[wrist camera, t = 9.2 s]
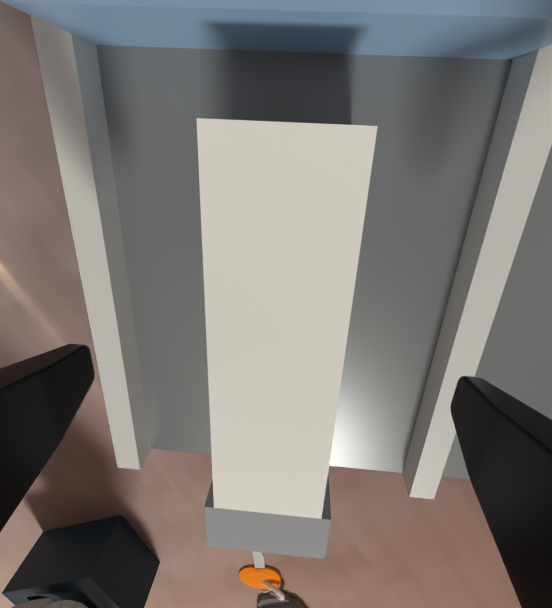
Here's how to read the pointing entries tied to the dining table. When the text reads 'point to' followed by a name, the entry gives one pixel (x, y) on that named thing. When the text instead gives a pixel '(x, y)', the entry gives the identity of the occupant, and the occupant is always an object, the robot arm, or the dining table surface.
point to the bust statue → (85, 568)
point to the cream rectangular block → (277, 320)
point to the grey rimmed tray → (378, 216)
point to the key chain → (267, 584)
